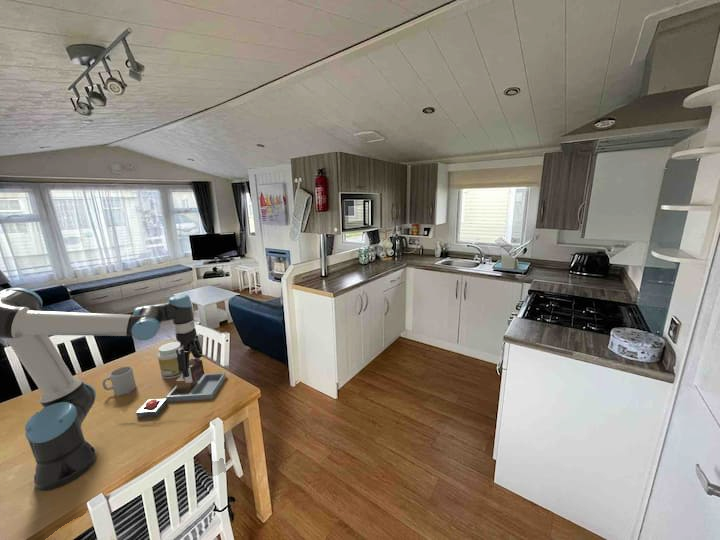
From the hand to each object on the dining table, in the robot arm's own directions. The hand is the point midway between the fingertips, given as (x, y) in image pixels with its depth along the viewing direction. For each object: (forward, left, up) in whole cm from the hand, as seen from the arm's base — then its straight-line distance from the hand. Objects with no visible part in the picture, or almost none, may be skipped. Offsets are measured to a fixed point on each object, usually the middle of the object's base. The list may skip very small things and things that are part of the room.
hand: (194, 376), depth 125 cm
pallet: (+11, +5, -15) cm, 20 cm away
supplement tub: (+27, +25, -16) cm, 40 cm away
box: (0, 0, -1) cm, 1 cm away
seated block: (+11, +10, -14) cm, 21 cm away
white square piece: (-3, +18, -15) cm, 24 cm away
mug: (+14, +44, -16) cm, 49 cm away
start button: (-3, +18, -14) cm, 23 cm away
